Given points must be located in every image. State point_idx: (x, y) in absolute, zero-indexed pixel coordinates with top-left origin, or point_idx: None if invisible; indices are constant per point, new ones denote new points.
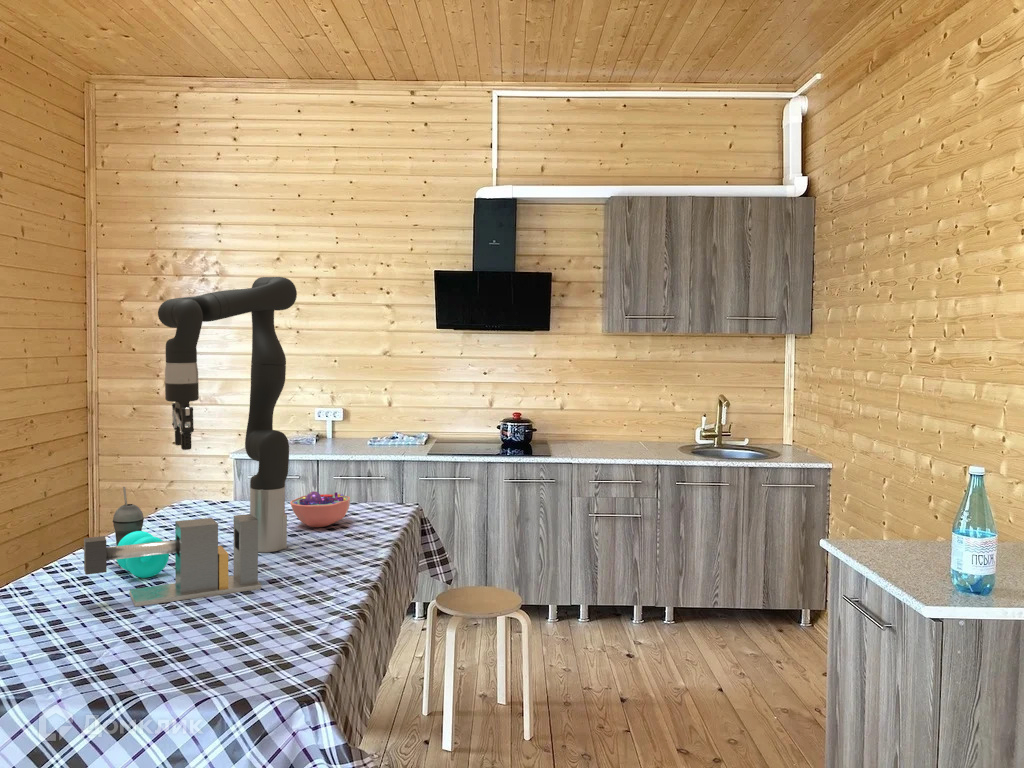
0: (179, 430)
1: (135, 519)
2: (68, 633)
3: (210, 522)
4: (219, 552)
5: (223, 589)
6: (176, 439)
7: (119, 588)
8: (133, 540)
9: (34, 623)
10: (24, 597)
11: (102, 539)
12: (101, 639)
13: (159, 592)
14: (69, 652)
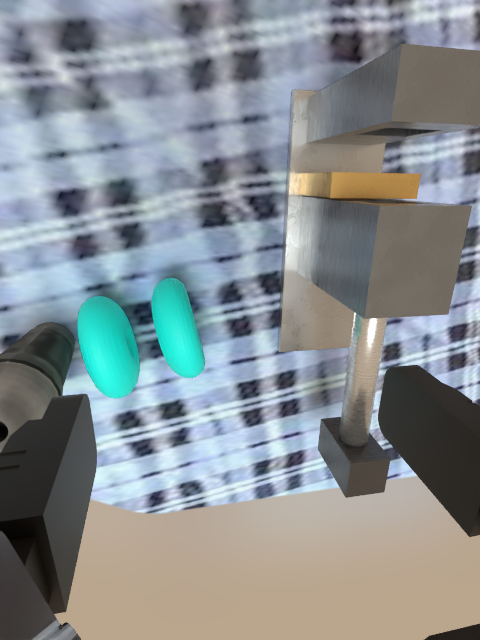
0: (50, 572)
1: (50, 387)
2: None
3: (439, 223)
4: (398, 193)
5: None
6: (86, 498)
7: (234, 362)
8: (130, 370)
9: None
10: (214, 488)
11: (379, 465)
12: (460, 386)
13: (327, 305)
14: None
